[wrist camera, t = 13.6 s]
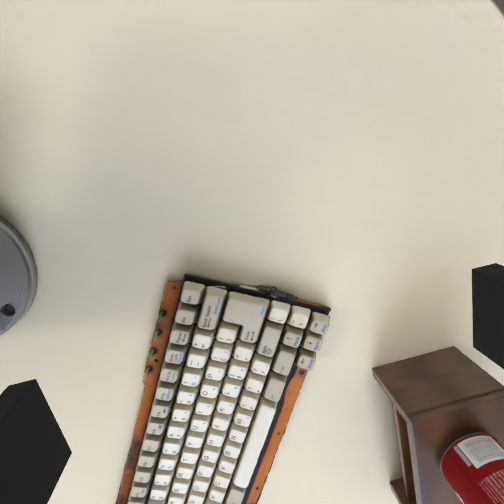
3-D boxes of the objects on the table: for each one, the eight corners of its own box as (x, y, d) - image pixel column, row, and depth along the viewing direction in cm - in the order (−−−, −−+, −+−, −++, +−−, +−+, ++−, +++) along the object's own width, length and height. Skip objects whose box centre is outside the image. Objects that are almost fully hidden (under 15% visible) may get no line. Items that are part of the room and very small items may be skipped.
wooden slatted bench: (390, 487, 48) (428, 559, 39) (372, 368, 42) (411, 422, 33) (462, 467, 48) (515, 534, 40) (454, 346, 42) (514, 394, 34)
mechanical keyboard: (247, 533, 48) (248, 560, 44) (112, 518, 45) (104, 546, 42) (330, 298, 39) (340, 311, 36) (170, 261, 36) (165, 271, 33)
